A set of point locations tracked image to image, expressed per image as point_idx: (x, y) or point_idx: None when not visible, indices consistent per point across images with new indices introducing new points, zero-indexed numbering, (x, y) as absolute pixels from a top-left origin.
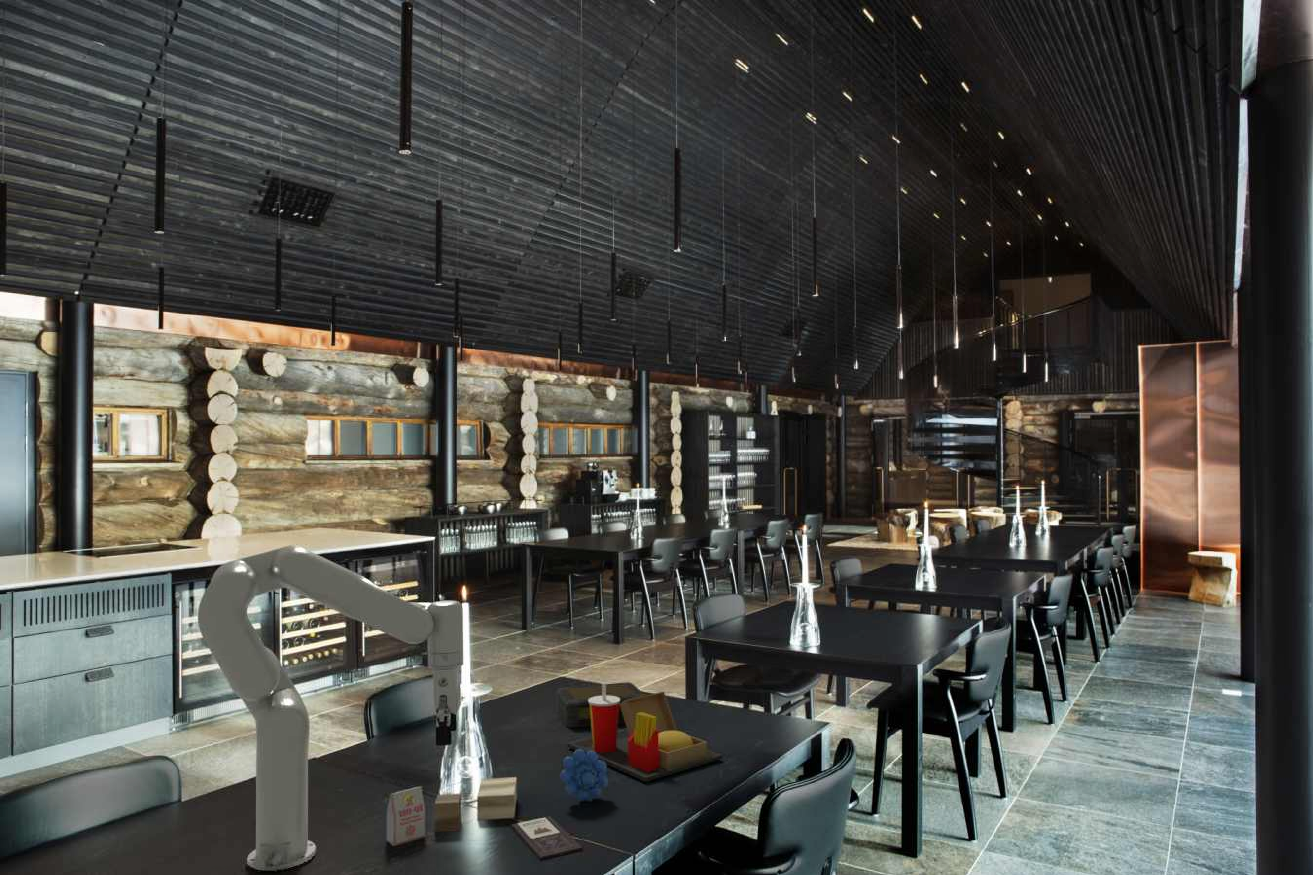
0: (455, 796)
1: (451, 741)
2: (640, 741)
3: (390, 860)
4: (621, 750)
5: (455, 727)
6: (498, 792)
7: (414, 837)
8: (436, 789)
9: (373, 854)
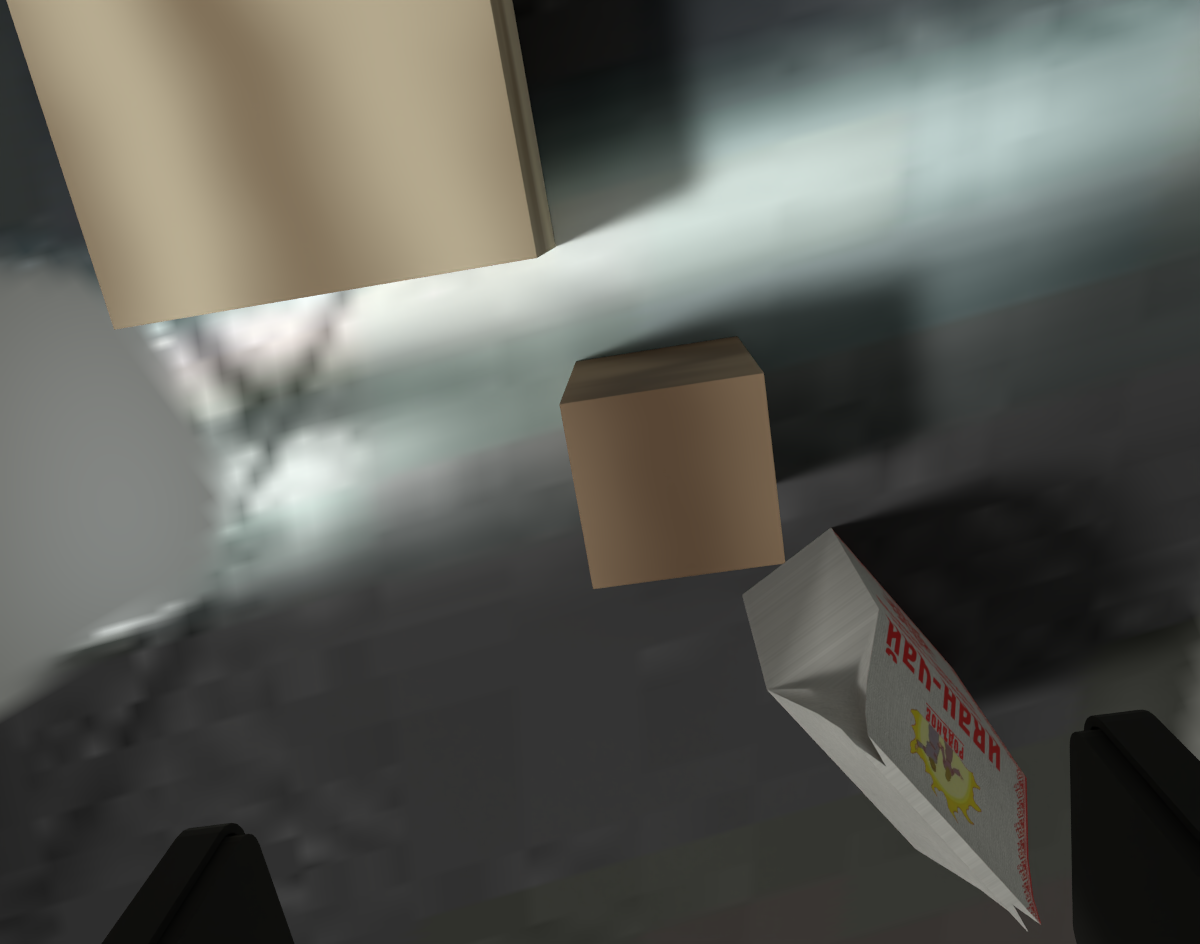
0: (631, 434)
1: (1138, 732)
2: None
3: (1158, 626)
4: None
5: (226, 870)
6: (421, 75)
7: (877, 583)
8: (66, 668)
9: (1058, 739)
